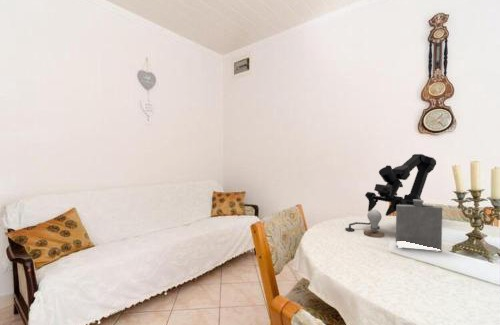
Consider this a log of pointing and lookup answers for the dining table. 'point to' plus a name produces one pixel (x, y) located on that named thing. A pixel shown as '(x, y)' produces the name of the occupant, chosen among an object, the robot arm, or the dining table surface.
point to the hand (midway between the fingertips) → (377, 213)
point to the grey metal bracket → (356, 223)
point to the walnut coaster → (372, 234)
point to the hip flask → (419, 224)
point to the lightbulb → (374, 219)
